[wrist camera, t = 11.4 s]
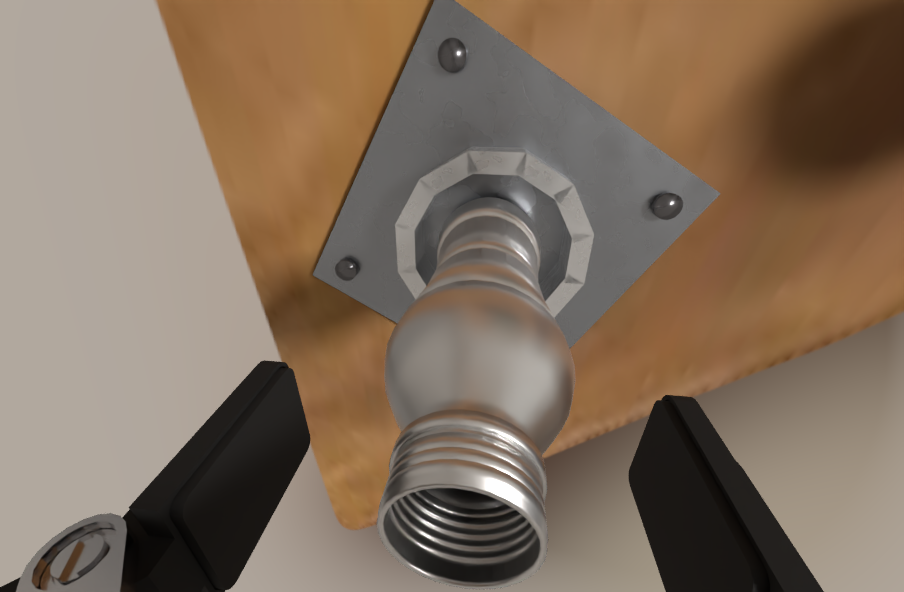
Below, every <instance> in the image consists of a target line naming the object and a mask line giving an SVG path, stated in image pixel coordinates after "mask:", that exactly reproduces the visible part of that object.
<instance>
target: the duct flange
mask: <svg viewBox="0 0 904 592" xmlns="http://www.w3.org/2000/svg"><path fill="white" fill-rule="evenodd" d="M719 195H720V193H719V192H718V191H716V190H715V189H713V188H712V187H711V186H709V185H708V184H707V183H705V182H704V181H702V180H701V179H700V178H698V177H697V176H696V175H694V174H693V173H691V172H690V171H689V170H687V169H686V168H685V167H683V166H682V165H680V164H679V163H678V162H676V161H675V160H674V159H672V158H671V157H669V156H668V155H667V154H665V153H664V152H662V151H661V150H660V149H658V148H657V147H656V146H654V145H653V144H651V143H650V142H649V141H647V140H646V139H645V138H643V137H642V136H640V135H639V134H638V133H636V132H635V131H634V130H632V129H631V128H629V127H628V126H627V125H625V124H624V123H623V122H621V121H620V120H618V119H617V118H616V117H614V116H613V115H612V114H610V113H609V112H607V111H606V110H605V109H603V108H602V107H601V106H599V105H598V104H596V103H595V102H594V101H592V100H591V99H590V98H588V97H587V96H585V95H584V94H583V93H581V92H580V91H578V90H577V89H576V88H574V87H573V86H572V85H570V84H569V83H567V82H566V81H565V80H563V79H562V78H561V77H559V76H558V75H556V74H555V73H554V72H552V71H551V70H550V69H548V68H547V67H545V66H544V65H543V64H541V63H540V62H539V61H537V60H536V59H534V58H533V57H532V56H530V55H529V54H528V53H526V52H525V51H523V50H522V49H521V48H519V47H518V46H517V45H515V44H514V43H512V42H511V41H510V40H508V39H507V38H505V37H504V36H503V35H501V34H500V33H499V32H497V31H496V30H494V29H493V28H492V27H490V26H489V25H488V24H486V23H485V22H483V21H482V20H481V19H479V18H478V17H477V16H475V15H474V14H472V13H471V12H470V11H468V10H467V9H466V8H464V7H463V6H461V5H460V4H459V3H457V2H456V1H455V0H434V2H433V5H432V7H431V9H430V12H429V14H428V16H427V18H426V21H425V23H424V25H423V27H422V30H421V32H420V34H419V36H418V39H417V41H416V43H415V45H414V48H413V50H412V52H411V54H410V57H409V59H408V61H407V63H406V66H405V68H404V70H403V72H402V75H401V77H400V79H399V81H398V84H397V86H396V88H395V90H394V93H393V95H392V97H391V99H390V102H389V104H388V106H387V108H386V111H385V113H384V115H383V117H382V120H381V122H380V124H379V126H378V129H377V131H376V133H375V135H374V138H373V140H372V142H371V144H370V147H369V149H368V151H367V153H366V156H365V158H364V160H363V162H362V165H361V167H360V169H359V171H358V174H357V176H356V178H355V180H354V183H353V185H352V187H351V189H350V192H349V194H348V196H347V199H346V201H345V203H344V205H343V208H342V210H341V212H340V214H339V217H338V219H337V221H336V223H335V226H334V228H333V230H332V232H331V235H330V237H329V239H328V241H327V244H326V246H325V248H324V250H323V253H322V255H321V257H320V259H319V262H318V264H317V266H316V268H315V271H314V273H313V276H315V277H317V278H318V279H320V280H322V281H324V282H325V283H327V284H329V285H331V286H332V287H334V288H336V289H338V290H340V291H341V292H343V293H345V294H347V295H348V296H350V297H352V298H354V299H355V300H357V301H359V302H361V303H362V304H364V305H366V306H368V307H369V308H371V309H373V310H375V311H376V312H378V313H380V314H382V315H383V316H385V317H387V318H389V319H391V320H392V321H394V322H396V323H398V322H399V320H400V319H401V317H402V316H403V314H404V313H405V312H406V310H407V309H408V308H409V306H410V305H411V304H412V303H413V302H414V301H415V299H416V298H417V297H418V296H419V295H420V293H421V292H422V291H423V290H424V289H425V287H426V286H427V285H428V283H429V281H430V280H431V278H432V276H433V274H434V273H435V270H436V267H437V246H438V239H439V234H440V231H441V229H442V227H443V224H444V223H445V221H446V220H447V218H448V217H449V215H450V214H452V213H453V212H454V211H455V210H456V209H457V208H459V207H460V206H462V205H464V204H465V203H467V202H469V201H472V200H475V199H478V198H485V197H493V198H499V199H503V200H506V201H508V202H510V203H512V204H514V205H516V206H517V207H518V208H519V209H521V210H522V211H523V212H524V213H526V214H527V216H528V217H529V218H530V219H531V221H532V222H533V223H534V225H535V227H536V229H537V231H538V234H539V238H540V241H541V261H540V268H539V272H538V283H539V286H540V289H541V292H542V295H543V298H544V300H545V302H546V304H547V306H548V308H549V309H550V311H551V313H552V315H553V317H554V318H555V320H556V321H557V323H558V325H559V327H560V329H561V331H562V332H563V334H564V336H565V339H566V342H567V344H568V346H569V349H570V348H571V347H572V346H573V345H574V344H575V343H576V342H577V341H578V340H579V339H580V338H581V337H582V336H583V335H584V334H585V332H586V331H587V330H588V329H589V328H590V327H591V326H592V325H593V324H594V323H595V322H596V321H597V320H598V319H599V318H600V317H601V316H602V315H603V314H604V313H605V312H606V311H607V310H608V309H609V308H610V307H611V306H612V305H613V304H614V303H615V302H616V301H617V300H618V299H619V298H620V297H621V295H622V294H623V293H624V292H625V291H626V290H627V289H628V288H629V287H630V286H631V285H632V284H633V283H634V282H635V281H636V280H637V279H638V278H639V277H640V276H641V275H642V274H643V273H644V272H645V271H646V270H647V269H648V268H649V267H650V266H651V265H652V264H653V263H654V262H655V261H656V260H657V258H658V257H659V256H660V255H661V254H662V253H663V252H664V251H665V250H666V249H667V248H668V247H669V246H670V245H671V244H672V243H673V242H674V241H675V240H676V239H677V238H678V237H679V236H680V235H681V234H682V233H683V232H684V231H685V230H686V229H687V228H688V227H689V226H690V225H691V224H692V223H693V221H694V220H695V219H696V218H697V217H698V216H699V215H700V214H701V213H702V212H703V211H704V210H705V209H706V208H707V207H708V206H709V205H710V204H711V203H712V202H713V201H714V200H715V199H716V198H717V197H718V196H719Z"/></svg>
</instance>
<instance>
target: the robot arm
mask: <svg viewBox="0 0 904 592" xmlns="http://www.w3.org/2000/svg"><path fill="white" fill-rule="evenodd" d="M309 445H310V434H309V430H308V426H307V422H306V418H305V414H304V410H303V406H302V402H301V398H300V395H299V391H298V387H297V383H296V379H295V375H294V372H293V370H292V369H291V368H289V367H288V365H287V364H286V363H284V362H274V361H261V362H260V363H259V364H258V365H257V366H256V367H255V368H254V369H253V370H252V371H251V373H250V374H249V375H248V376H247V377H246V378H245V379H244V380H243V381H242V382H241V384H240V385H239V386H238V387H237V388H236V389H235V390H234V391H233V392H232V394H231V395H230V396H229V397H228V398H227V399H226V400H225V401H224V402H223V404H222V405H221V406H220V407H219V408H218V409H217V410H216V411H215V412H214V414H213V415H212V416H211V417H210V418H209V419H208V420H207V421H206V422H205V424H204V425H203V426H202V427H201V428H200V429H199V430H198V431H197V432H196V433H195V435H194V436H193V437H192V438H191V439H190V440H189V441H188V442H187V443H186V445H185V446H184V447H183V448H182V449H181V450H180V451H179V453H178V454H177V455H176V456H175V457H174V458H173V459H172V460H171V461H170V462H169V463H168V465H167V466H166V467H165V468H164V469H163V470H162V471H161V472H160V474H159V475H158V476H157V477H156V478H155V479H154V480H153V481H152V482H151V483H150V485H149V486H148V487H147V488H146V489H145V490H144V491H143V492H142V493H141V494H140V496H139V497H138V498H137V499H136V500H135V501H134V502H133V503H132V505H131V506H130V507H129V508H130V510H129V511H128V512H127V513H126V514H125V515H124V517H123V518H121V516H119V515H115V514H111V513H110V514H100V515H96V516H92V517H90V518H87V519H83V520H82V521H80V522H78V523H76V524H74V525H72V526H70V527H68V528H66V529H65V530H63V531H62V532H61V533H59V534H58V535H57V536H55V537H53V538H52V539H51V540H50V541H49V542H48V543H46V545H44V546H43V547H42V548H41V549H40V550H39V551H38V552H37V553H36V554H35V556H34V557H33V558H32V559H31V561H30V562H29V563H28V565H27V566H26V568H25V570H24V572H23V574H22V576H21V577H20V578H18V579H16V580H14V581H12V582H10V583H8V584H6V585H4V586H2V587H0V592H225V590H228V589H230V588H231V587H232V586H233V585H234V584H235V583H236V581H237V580H238V578H239V576H240V574H241V572H242V570H243V569H244V567H245V565H246V563H247V561H248V559H249V557H250V556H251V553H252V552H253V550H254V548H255V546H256V545H257V543H258V541H259V539H260V537H261V535H262V533H263V532H264V530H265V528H266V526H267V524H268V522H269V521H270V519H271V517H272V515H273V513H274V511H275V509H276V508H277V506H278V504H279V502H280V500H281V498H282V497H283V495H284V493H285V491H286V489H287V487H288V486H289V484H290V482H291V480H292V478H293V476H294V474H295V472H296V471H297V469H298V467H299V465H300V463H301V462H302V460H303V458H304V456H305V454H306V452H307V450H308V448H309ZM629 483H630V487H631V490H632V493H633V496H634V499H635V502H636V505H637V507H638V510H639V513H640V516H641V519H642V522H643V525H644V528H645V531H646V534H647V537H648V540H649V543H650V546H651V549H652V552H653V555H654V558H655V561H656V564H657V567H658V570H659V573H660V576H661V578H662V582H663V584H664V588H665V590H666V592H824V591H823V590H822V588H821V587H820V585H819V584H818V582H817V581H816V579H815V578H814V576H813V575H812V573H811V572H810V570H809V569H808V567H807V566H806V564H805V563H804V561H803V559H802V558H801V556H800V555H799V553H798V552H797V550H796V549H795V547H794V546H793V544H792V543H791V541H790V540H789V538H788V537H787V535H786V534H785V532H784V531H783V529H782V528H781V526H780V525H779V523H778V521H777V520H776V518H775V517H774V515H773V514H772V512H771V511H770V509H769V508H768V506H767V505H766V503H765V502H764V500H763V499H762V497H761V496H760V494H759V492H758V491H757V490H756V488H755V486H754V485H753V484H752V482H751V480H750V479H749V477H748V476H747V474H746V473H745V471H744V470H743V468H742V467H741V466H740V465H739V464H738V462H736V461H735V459H734V458H733V456H732V455H731V453H730V451H729V450H728V448H727V447H726V445H725V444H724V442H723V441H722V439H721V438H720V436H719V435H718V433H717V432H716V430H715V428H714V427H713V425H712V424H711V422H710V421H709V419H708V418H707V416H706V415H705V413H704V412H703V410H702V409H701V407H700V405H699V404H698V402H697V401H696V400H695V399H694V398H692V397H684V396H673V395H665V396H664V397H663V398H662V400H661V401H660V400H657V401H656V402H655V404H654V406H653V409H652V411H651V414H650V417H649V420H648V422H647V425H646V428H645V430H644V433H643V435H642V438H641V440H640V443H639V446H638V448H637V451H636V454H635V456H634V459H633V461H632V464H631V466H630V469H629Z"/></svg>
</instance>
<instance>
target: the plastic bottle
mask: <svg viewBox="0 0 904 592" xmlns="http://www.w3.org/2000/svg"><path fill="white" fill-rule="evenodd" d="M540 261H541V241H540V238H539V234H538V231H537V229H536V227H535V225H534V223H533V222H532V221H531V219H530V218H529V217H528V216H527V214H526V213H524V212H523V211H522V210H521V209H519V208H518V207H517V206H516V205H514V204H512V203H510V202H508V201H506V200H503V199H499V198H493V197H485V198H478V199H475V200H472V201H469V202H467V203H465V204H464V205H462V206H460V207H459V208H457V209H456V210H455V211H454V212H453V213H452V214H450V215H449V217H448V218H447V220H446V221H445V223H444V224H443V227H442V229H441V231H440V234H439V239H438V246H437V267H436V270H435V273H434V274H433V276H432V278H431V280H430V281H429V283H428V285H427V286H426V287H425V289H424V290H423V291H422V292H421V293H420V295H419V296H418V297H417V298H416V299H415V301H414V302H413V303H412V304H411V305H410V306H409V308H408V309H407V310H406V312H405V313H404V314H403V316H402V317H401V319H400V320H399V322H398V324H397V325H396V327H395V328H394V330H393V332H392V334H391V337H390V339H389V341H388V344H387V349H386V355H385V389H386V394H387V397H388V400H389V404H390V407H391V409H392V412H393V414H394V417H395V420H396V422H397V425H398V427H399V428H400V430H401V433H400V435H399V437H398V439H397V441H396V443H395V446H394V449H393V452H392V455H391V459H390V464H389V471H390V474H389V477H388V481H387V484H386V487H385V490H384V493H383V496H382V499H381V502H380V506H379V511H378V519H377V529H378V534H379V537H380V539H381V541H382V543H383V545H384V546H385V547H386V549H387V550H388V551H389V553H390V554H391V555H392V556H393V557H394V558H395V559H396V560H397V561H398V562H400V563H401V564H403V565H404V566H405V567H407V568H408V569H410V570H412V571H413V572H415V573H417V574H419V575H421V576H423V577H425V578H428V579H430V580H433V581H435V582H439V583H443V584H446V585H449V586H454V587H460V588H466V589H496V588H502V587H508V586H511V585H514V584H517V583H520V582H522V581H524V580H526V579H527V578H529V577H531V576H532V575H533V574H534V573H536V572H537V571H538V570H539V569H540V567H541V566H542V564H543V563H544V561H545V558H546V554H547V543H548V534H547V524H546V514H545V504H544V501H545V498H546V493H547V481H546V472H545V463H544V460H543V457H542V455H543V453H544V452H545V451H546V450H547V449H548V448H549V446H550V445H551V444H552V442H553V441H554V439H555V438H556V437H557V435H558V434H559V432H560V431H561V430H562V428H563V426H564V424H565V422H566V420H567V418H568V416H569V412H570V408H571V404H572V398H573V392H574V386H575V366H574V362H573V359H572V355H571V352H570V349H569V346H568V344H567V342H566V339H565V336H564V334H563V332H562V331H561V329H560V327H559V325H558V323H557V321H556V320H555V318H554V317H553V315H552V313H551V311H550V309H549V308H548V306H547V304H546V302H545V300H544V298H543V295H542V292H541V289H540V286H539V283H538V272H539V268H540Z"/></svg>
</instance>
